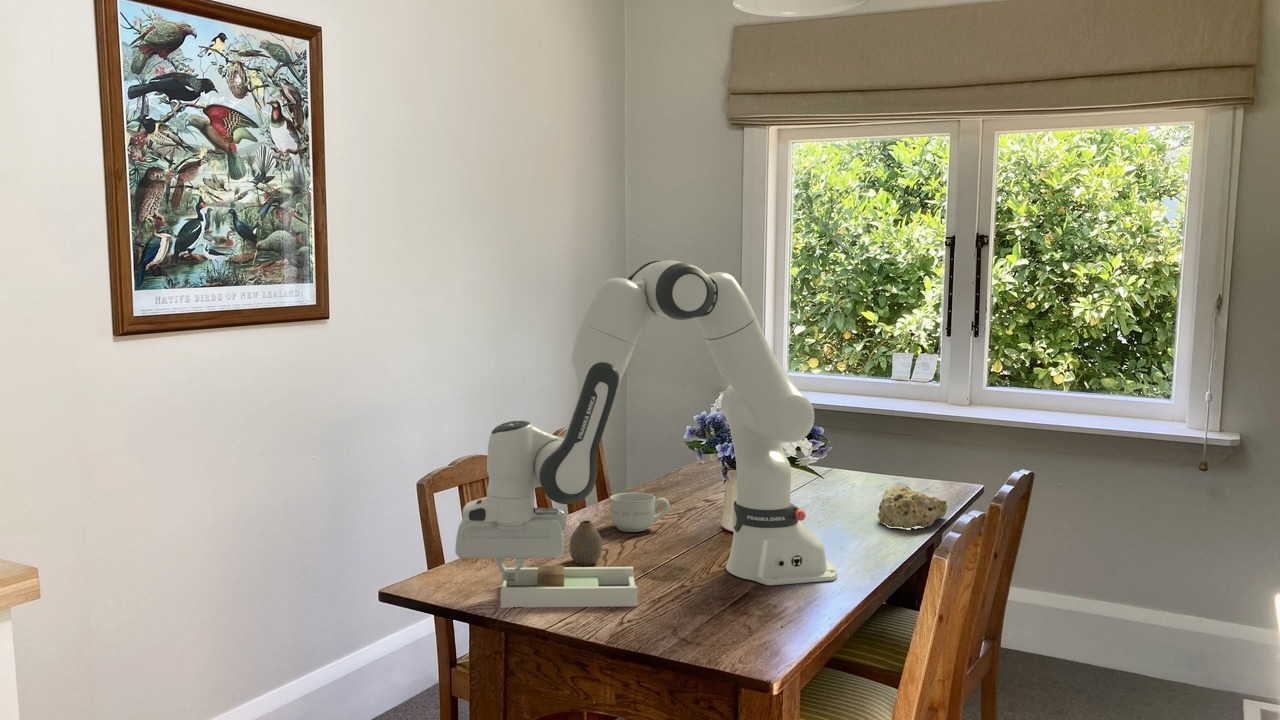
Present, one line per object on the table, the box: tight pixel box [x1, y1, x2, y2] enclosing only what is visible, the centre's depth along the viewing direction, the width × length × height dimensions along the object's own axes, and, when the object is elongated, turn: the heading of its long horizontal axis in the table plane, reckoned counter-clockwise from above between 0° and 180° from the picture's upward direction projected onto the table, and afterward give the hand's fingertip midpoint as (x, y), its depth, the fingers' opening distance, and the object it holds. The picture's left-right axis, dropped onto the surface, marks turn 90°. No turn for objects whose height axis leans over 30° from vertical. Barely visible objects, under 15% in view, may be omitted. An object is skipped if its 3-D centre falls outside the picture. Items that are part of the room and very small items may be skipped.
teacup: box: [609, 492, 671, 533], centre depth 228 cm, size 14×11×8 cm
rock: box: [877, 485, 948, 528], centre depth 240 cm, size 21×14×10 cm
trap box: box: [500, 566, 639, 609], centre depth 184 cm, size 25×12×4 cm, turn 94°
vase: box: [568, 520, 603, 566], centre depth 204 cm, size 7×7×9 cm
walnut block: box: [537, 565, 565, 587], centre depth 184 cm, size 5×5×3 cm
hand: (510, 579), depth 183 cm, fingers closed
